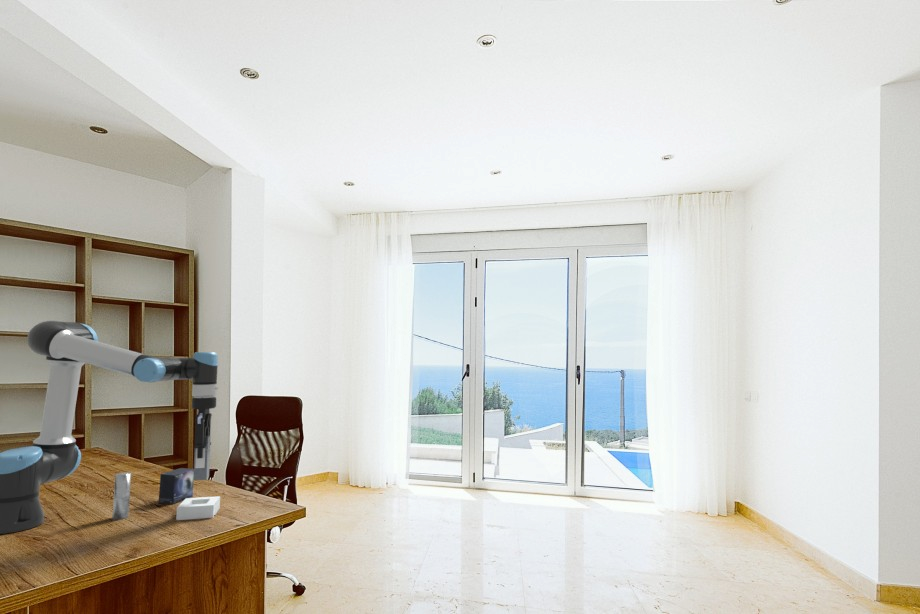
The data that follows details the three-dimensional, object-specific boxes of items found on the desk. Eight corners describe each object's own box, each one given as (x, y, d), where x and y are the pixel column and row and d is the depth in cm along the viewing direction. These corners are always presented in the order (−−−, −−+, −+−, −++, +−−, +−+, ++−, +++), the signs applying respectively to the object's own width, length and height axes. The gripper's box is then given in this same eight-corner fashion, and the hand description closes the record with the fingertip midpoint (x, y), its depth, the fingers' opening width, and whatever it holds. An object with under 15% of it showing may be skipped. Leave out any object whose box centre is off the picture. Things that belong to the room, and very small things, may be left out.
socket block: (176, 520, 167) (176, 507, 167) (185, 510, 178) (185, 498, 178) (213, 517, 170) (213, 505, 170) (219, 507, 180) (220, 496, 181)
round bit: (110, 520, 167) (113, 475, 168) (115, 516, 171) (118, 472, 172) (125, 519, 168) (128, 475, 169) (130, 515, 172) (133, 472, 173)
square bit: (193, 480, 172) (195, 437, 173) (196, 477, 176) (197, 435, 177) (206, 479, 173) (208, 437, 174) (209, 476, 177) (210, 435, 178)
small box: (173, 504, 184) (174, 474, 185) (157, 503, 185) (159, 473, 186) (193, 496, 194) (195, 468, 195) (178, 495, 196) (180, 467, 197)
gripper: (210, 398, 170) (208, 471, 168) (221, 394, 186) (218, 460, 184) (185, 399, 168) (182, 472, 166) (198, 395, 184) (195, 461, 182)
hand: (201, 466), depth 175 cm, fingers closed on square bit, 4 cm apart
